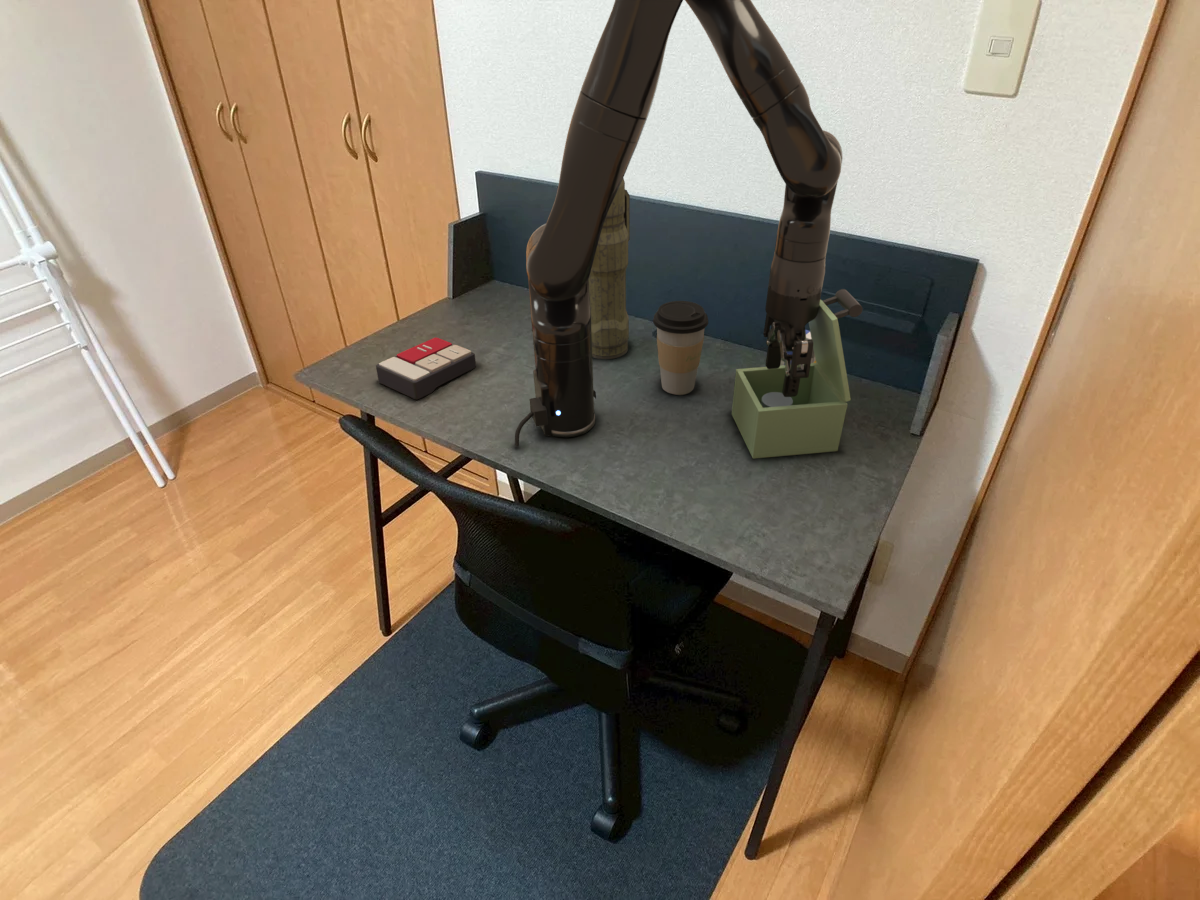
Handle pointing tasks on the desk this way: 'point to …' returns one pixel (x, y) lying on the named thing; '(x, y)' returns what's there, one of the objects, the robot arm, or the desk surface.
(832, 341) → the green lid
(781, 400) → the container
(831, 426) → the green box
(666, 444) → the desk surface
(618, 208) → the thermos
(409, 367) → the calculator
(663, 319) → the coffee cup
